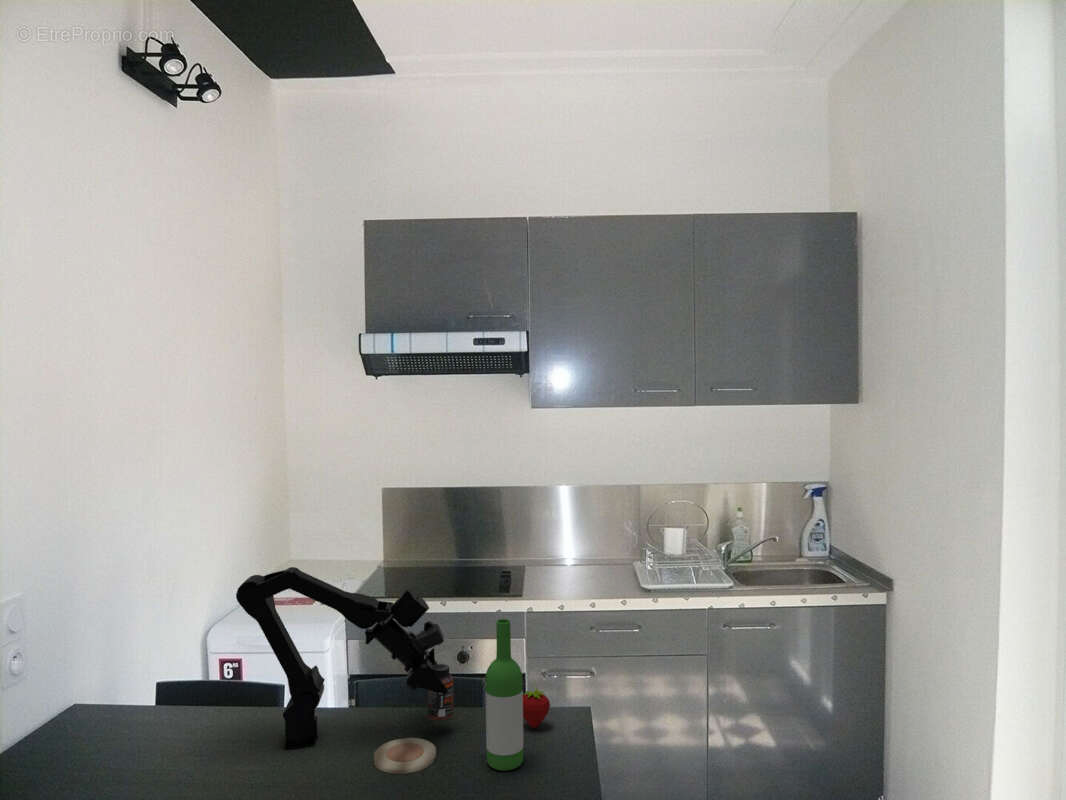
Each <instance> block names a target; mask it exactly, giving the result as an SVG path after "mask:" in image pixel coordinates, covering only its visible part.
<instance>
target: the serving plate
mask: <svg viewBox="0 0 1066 800" xmlns="http://www.w3.org/2000/svg"><path fill="white" fill-rule="evenodd" d="M436 758H437V749H436V746H435V745H434V743H432V742H430V741H429V740H426V739H423V738H417V737H404V738H398V739H394V740H390V741H388V742H385V743H383V744H381V746H379V747H378V748H377V749H376V750H375V752H374V753H373V764H374V766H375V767H376V768H377V769H378V770H380V771H381V772H384V773H388V774H393V775H394V774H395V775H405V774H410V773H417V772H419V771H421V770H424V769H427V768H428V767H429V766H430V765H432V764H433V763H434V762H435V760H436Z"/></svg>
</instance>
